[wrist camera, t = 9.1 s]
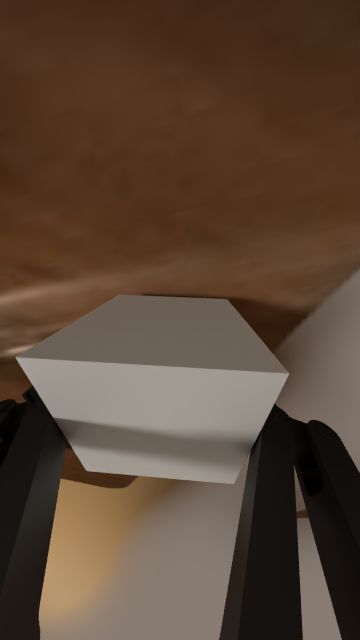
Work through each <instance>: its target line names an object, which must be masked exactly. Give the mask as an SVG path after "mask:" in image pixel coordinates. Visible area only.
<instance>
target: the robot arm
mask: <svg viewBox="0 0 360 640" xmlns="http://www.w3.org/2000/svg"><path fill="white" fill-rule="evenodd" d="M22 396H23V398H24V399H25V400H26V402H24V403H19V404H17V402H16V401H15V400H13V399H7V400H4V401H1V402H0V640H40V626H39V620H38V619H39V606H40V600H41V594H42V588H43V582H44V576H45V569H46V563H47V556H48V551H49V545H50V539H51V533H52V527H53V521H54V515H55V509H56V503H57V496H58V490H59V484H60V478H61V472H62V466H63V460H64V454H65V448H66V442H67V439H66V437H65V436H64V434H63V432H62V431H61V429H60V428H59V426H58V424H57V423H56V421H55V420H54V418H53V416H52V415H51V413H50V412H49V410H48V409H47V407H46V405H45V404H44V402H43V401H42V399H41V397H40V396H39V394H38V393H37V391H36V389H35V388H34V386H33V387H31V388H29V389H28V390H27V391H26V392H25V393H24V394H23V395H22ZM294 466H295V470H296V473H297V477H298V480H299V484H300V488H301V491H302V495H303V499H304V503H305V506H306V510H307V514H308V517H309V521H310V525H311V528H312V532H313V535H314V539H315V542H316V546H317V550H318V554H319V557H320V561H321V565H322V568H323V572H324V576H325V579H326V583H327V587H328V590H329V594H330V597H331V601H332V605H333V608H334V612H335V616H336V619H337V623H338V627H339V631H340V634H341V638H342V640H360V473H359V471H358V470H357V467H356V466H355V464H354V462H353V460H352V459H351V457H350V455H349V453H348V451H347V450H346V448H345V446H344V444H343V443H342V441H341V439H340V438H339V436H338V435H337V433H336V432H335V431H334V430H332V429H331V428H330V427H329V426H327V425H326V424H324V423H322V422H320V421H317V420H311V421H309V422H308V423H304V422H301V421H298V420H295V419H293V418H291V417H289V416H288V415H287V413H285V412H284V411H283V410H282V409H280V408H279V407H277V406H276V404H275V403H274V405H273V407H272V409H271V411H270V413H269V415H268V417H267V419H266V421H265V423H264V425H263V427H262V429H261V431H260V433H259V435H258V437H257V439H256V441H255V443H254V445H253V447H252V449H251V452H250V458H249V464H248V471H247V476H246V483H245V489H244V494H243V500H242V507H241V513H240V518H239V524H238V531H237V537H236V543H235V549H234V555H233V561H232V567H231V573H230V579H229V585H228V592H227V597H226V603H225V609H224V615H223V622H222V627H221V633H220V638H219V640H303V635H302V634H303V633H302V615H301V594H300V576H299V556H298V536H297V516H296V497H295V480H294V479H295V478H294Z"/></svg>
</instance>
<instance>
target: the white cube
mask: <svg viewBox="0 0 360 640" xmlns="http://www.w3.org/2000/svg"><path fill="white" fill-rule="evenodd" d="M16 359H17V361H18V362H19V364H20V365H21V367H22V369H23V370H24V372H25V373H26V375H27V377H28V378H29V380H30V381H31V383H32V385H33V386H34V388H35V389H36V391H37V393H38V394H39V396H40V397H41V399H42V401H43V402H44V404H45V405H46V407H47V409H48V410H49V412H50V413H51V415H52V416H53V418H54V420H55V421H56V423H57V424H58V426H59V428H60V429H61V431H62V432H63V434H64V436H65V437H66V439H67V440H68V442H69V444H70V445H71V447H72V448H73V450H74V452H75V453H76V455H77V456H78V458H79V460H80V461H81V463H82V464H83V466H84V468H85V469H86V471H93V472H104V473H116V474H127V475H138V476H150V477H160V478H172V479H184V480H194V481H206V482H216V483H227V484H234V482H235V480H236V478H237V476H238V474H239V472H240V471H241V469H242V467H243V465H244V463H245V461H246V459H247V457H248V455H249V453H250V451H251V449H252V447H253V445H254V443H255V441H256V439H257V437H258V435H259V433H260V431H261V429H262V427H263V425H264V423H265V421H266V419H267V417H268V415H269V413H270V411H271V409H272V407H273V405H274V403H275V401H276V399H277V397H278V395H279V393H280V391H281V389H282V387H283V385H284V383H285V381H286V379H287V377H288V376H289V373H288V371H287V370H286V369H285V368H284V367H283V365H282V364H281V363H280V362H279V361H278V359H277V358H276V357H275V356H274V355H273V353H272V352H271V351H270V350H269V349H268V347H267V346H266V345H265V344H264V343H263V341H262V340H261V339H260V338H259V337H258V335H257V334H256V333H255V332H254V331H253V329H252V328H251V327H250V326H249V325H248V323H247V322H246V321H245V320H244V319H243V317H242V316H241V315H240V314H239V313H238V311H237V310H236V309H235V308H234V307H233V305H232V304H231V303H230V302H229V301H228V299H211V298H186V297H162V296H137V295H118V296H116V297H114V298H113V299H111V300H109V301H108V302H106V303H104V304H103V305H101V306H99V307H98V308H96V309H94V310H93V311H91V312H89V313H88V314H86V315H84V316H83V317H81V318H80V319H78V320H76V321H75V322H73V323H71V324H70V325H68V326H66V327H65V328H63V329H61V330H60V331H58V332H56V333H55V334H53V335H51V336H50V337H48V338H47V339H45V340H43V341H42V342H40V343H38V344H37V345H35V346H33V347H32V348H30V349H28V350H27V351H25V352H23V353H22V354H20V355H18V356H17V357H16Z"/></svg>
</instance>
